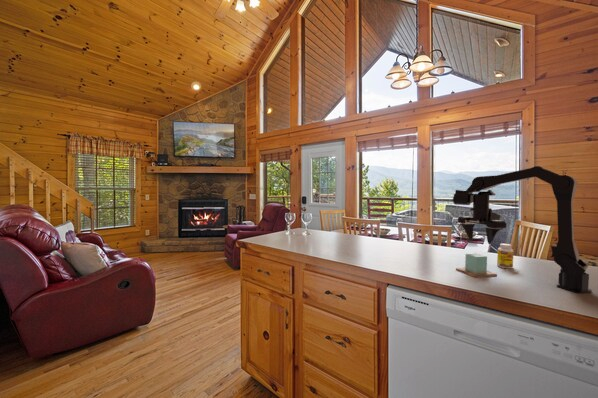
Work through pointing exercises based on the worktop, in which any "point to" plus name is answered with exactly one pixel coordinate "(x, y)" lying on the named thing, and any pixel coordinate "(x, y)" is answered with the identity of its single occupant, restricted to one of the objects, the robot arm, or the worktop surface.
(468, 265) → the mint tissue box
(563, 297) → the worktop surface
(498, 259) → the supplement bottle
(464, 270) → the post fixture
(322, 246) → the worktop surface
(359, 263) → the worktop surface
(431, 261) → the worktop surface
